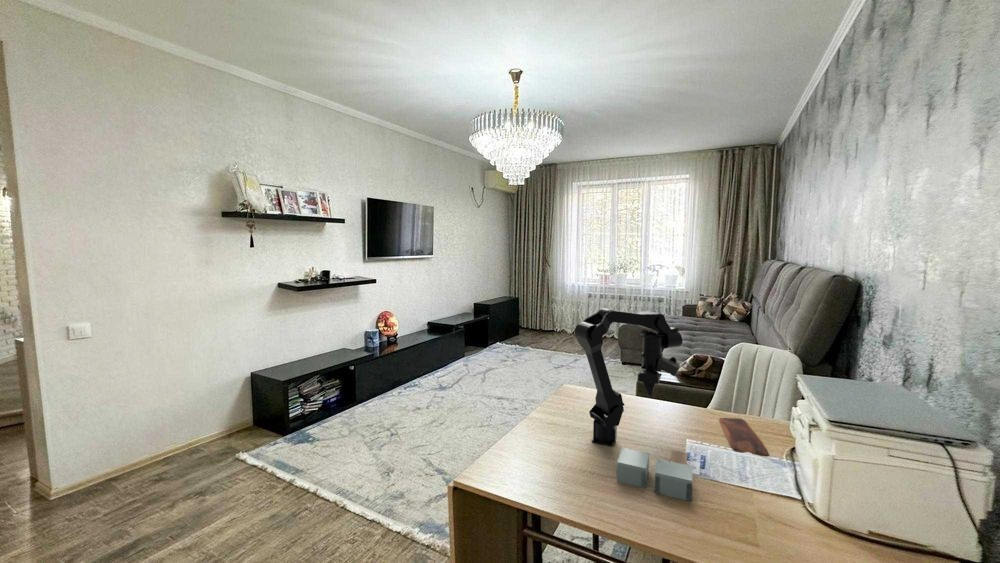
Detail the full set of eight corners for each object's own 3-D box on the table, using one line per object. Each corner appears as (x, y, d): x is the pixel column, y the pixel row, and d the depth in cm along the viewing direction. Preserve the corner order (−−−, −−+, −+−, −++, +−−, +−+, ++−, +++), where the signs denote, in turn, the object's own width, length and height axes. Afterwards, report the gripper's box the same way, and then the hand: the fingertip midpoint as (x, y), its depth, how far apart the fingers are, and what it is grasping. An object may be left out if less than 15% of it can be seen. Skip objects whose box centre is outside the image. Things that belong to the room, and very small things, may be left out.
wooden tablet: (716, 413, 145) (747, 414, 142) (716, 419, 145) (748, 420, 142) (731, 448, 120) (770, 450, 117) (732, 455, 120) (771, 457, 117)
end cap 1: (645, 488, 102) (646, 468, 101) (616, 481, 105) (617, 462, 104) (648, 471, 109) (649, 453, 109) (621, 465, 112) (622, 447, 112)
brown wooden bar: (668, 492, 101) (669, 479, 100) (671, 461, 115) (671, 449, 115) (685, 496, 99) (686, 483, 99) (686, 464, 113) (686, 452, 113)
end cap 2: (654, 492, 100) (655, 472, 99) (656, 477, 106) (657, 458, 106) (691, 501, 96) (692, 480, 96) (691, 485, 103) (692, 466, 102)
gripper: (676, 360, 120) (675, 410, 121) (680, 346, 136) (678, 390, 137) (638, 355, 125) (636, 403, 126) (645, 342, 141) (644, 385, 142)
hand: (650, 395), depth 133 cm, fingers closed
